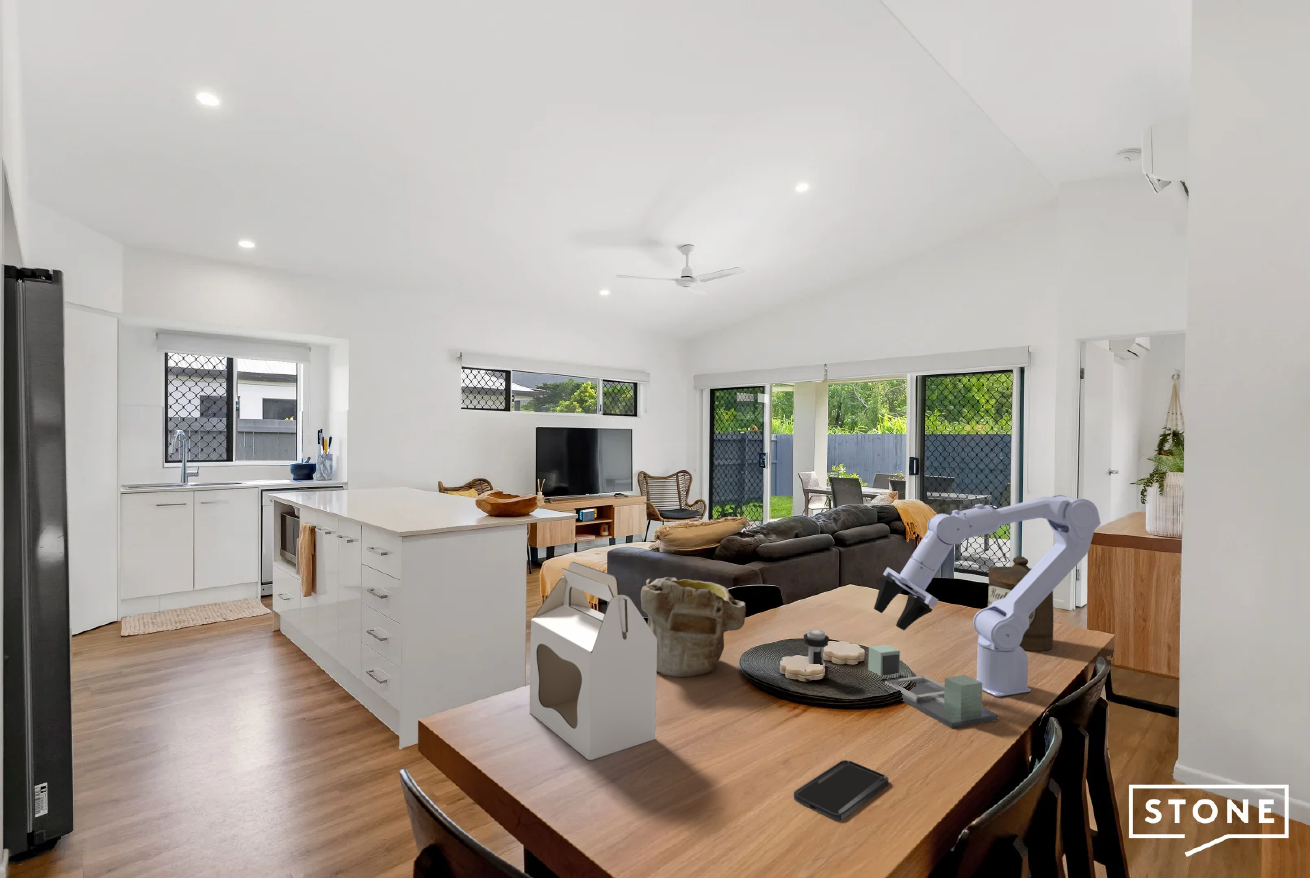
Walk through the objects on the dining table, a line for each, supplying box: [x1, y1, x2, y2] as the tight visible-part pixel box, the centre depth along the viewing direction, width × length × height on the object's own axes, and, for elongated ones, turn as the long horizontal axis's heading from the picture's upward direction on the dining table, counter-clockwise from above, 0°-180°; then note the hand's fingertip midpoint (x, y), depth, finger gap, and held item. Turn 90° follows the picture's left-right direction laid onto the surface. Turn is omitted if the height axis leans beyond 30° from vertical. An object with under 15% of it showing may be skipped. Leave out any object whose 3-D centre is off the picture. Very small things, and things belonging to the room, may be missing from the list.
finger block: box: [867, 644, 901, 676], centre depth 143 cm, size 4×5×6 cm
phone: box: [793, 759, 889, 821], centre depth 97 cm, size 8×1×15 cm
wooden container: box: [987, 555, 1054, 652], centre depth 169 cm, size 15×15×22 cm
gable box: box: [529, 561, 658, 761], centre depth 116 cm, size 22×13×28 cm, turn 36°
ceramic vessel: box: [640, 576, 747, 678], centre depth 146 cm, size 23×24×25 cm
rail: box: [884, 674, 999, 729], centre depth 129 cm, size 20×11×7 cm, turn 20°
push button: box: [803, 629, 830, 677], centre depth 140 cm, size 7×5×10 cm
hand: (888, 619), depth 138 cm, fingers open, 7 cm apart
